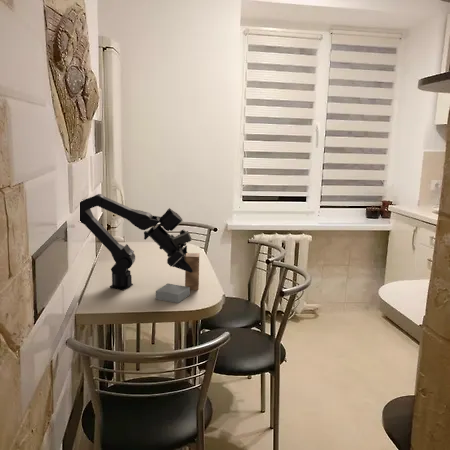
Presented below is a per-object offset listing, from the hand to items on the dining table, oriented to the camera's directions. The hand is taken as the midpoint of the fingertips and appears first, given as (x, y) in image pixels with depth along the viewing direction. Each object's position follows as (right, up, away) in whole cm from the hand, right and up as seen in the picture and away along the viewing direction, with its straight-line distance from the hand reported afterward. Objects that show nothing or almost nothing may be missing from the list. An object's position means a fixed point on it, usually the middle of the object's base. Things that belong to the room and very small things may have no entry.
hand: (192, 268), depth 170 cm
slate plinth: (-6, -9, -9) cm, 15 cm away
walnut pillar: (0, -8, +1) cm, 8 cm away
